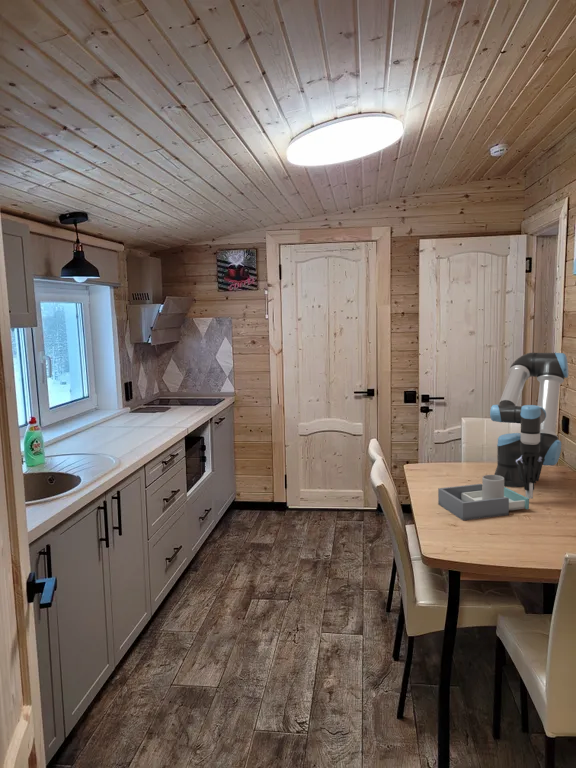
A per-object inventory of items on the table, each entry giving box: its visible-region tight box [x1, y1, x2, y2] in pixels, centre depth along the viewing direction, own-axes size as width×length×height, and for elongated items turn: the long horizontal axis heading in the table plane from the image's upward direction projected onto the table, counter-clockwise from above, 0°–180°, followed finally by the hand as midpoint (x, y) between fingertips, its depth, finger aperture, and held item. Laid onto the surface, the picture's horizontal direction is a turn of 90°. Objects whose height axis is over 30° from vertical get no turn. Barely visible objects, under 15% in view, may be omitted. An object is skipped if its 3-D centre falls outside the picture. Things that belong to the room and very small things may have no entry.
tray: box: [461, 486, 530, 511], centre depth 230 cm, size 20×19×4 cm
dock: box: [437, 483, 510, 521], centre depth 228 cm, size 20×20×7 cm
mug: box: [481, 474, 505, 500], centre depth 229 cm, size 12×8×11 cm
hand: (529, 497), depth 233 cm, fingers closed
